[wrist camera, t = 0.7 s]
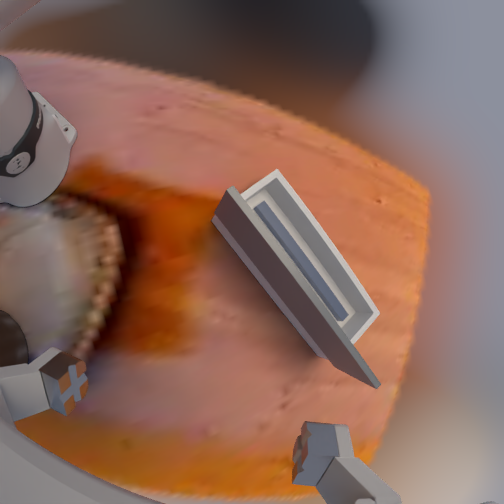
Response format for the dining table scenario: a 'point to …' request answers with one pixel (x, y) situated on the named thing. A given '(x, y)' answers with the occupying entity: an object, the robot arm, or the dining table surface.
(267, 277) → the plate
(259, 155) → the dining table surface
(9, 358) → the plant pot
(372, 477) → the robot arm
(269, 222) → the cable duct
